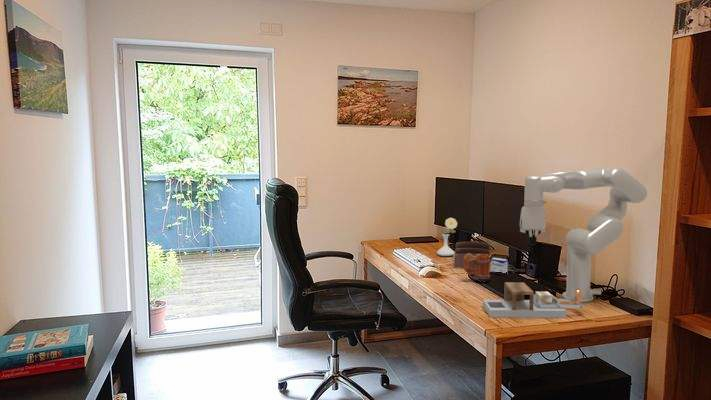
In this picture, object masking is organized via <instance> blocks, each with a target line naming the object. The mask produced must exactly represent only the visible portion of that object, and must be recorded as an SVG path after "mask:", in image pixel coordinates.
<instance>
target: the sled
mask: <svg viewBox="0 0 711 400" xmlns="http://www.w3.org/2000/svg"><path fill="white" fill-rule="evenodd" d="M550 294H551V293H550ZM551 295H552V304H541V300H540V299H539V298H538V297H536V296H535V294H534V301H533V303H534V304H535V305H536V306H537V307H538V308H564V309H584V307H585V305H584V304H583V303H582V302H581V299H582V290H580V289H575V296H574V299H566V298H557V297H556V296H554V295H553V294H551ZM560 303H563V304H560ZM565 303H568V304H565ZM569 303H572V304H569Z"/></svg>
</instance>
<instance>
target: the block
mask: <svg viewBox="0 0 711 400" xmlns="http://www.w3.org/2000/svg"><path fill="white" fill-rule="evenodd" d="M534 295H535V296H536V297H538V298H539V299H540V300H541V304H552V295H553V294H552V295H551V293H550V292H549V291H535V293H534Z"/></svg>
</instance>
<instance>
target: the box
mask: <svg viewBox="0 0 711 400" xmlns="http://www.w3.org/2000/svg"><path fill="white" fill-rule="evenodd" d="M490 261H491V263H490V273H491V272H502V273H506V272H507V273H508V264H509V263H508V261H509V260H508V259H507V258H502V257H501V258H500V257H492V258H490Z"/></svg>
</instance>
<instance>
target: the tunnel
mask: <svg viewBox="0 0 711 400" xmlns="http://www.w3.org/2000/svg"><path fill="white" fill-rule="evenodd" d="M503 290H504V294H503V295H504V296H503V300H505V301H512V310H516V301H524V300H525V295H528V296H529V299H528V300H529V310H533V301H534V295H535V293H534V291H533V289H531V288H530V287H529V286H528V285H527V284H526V283H525V282H522V281H521V282H517V281H516V282H510V281H507V282H505V281H504V289H503Z"/></svg>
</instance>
